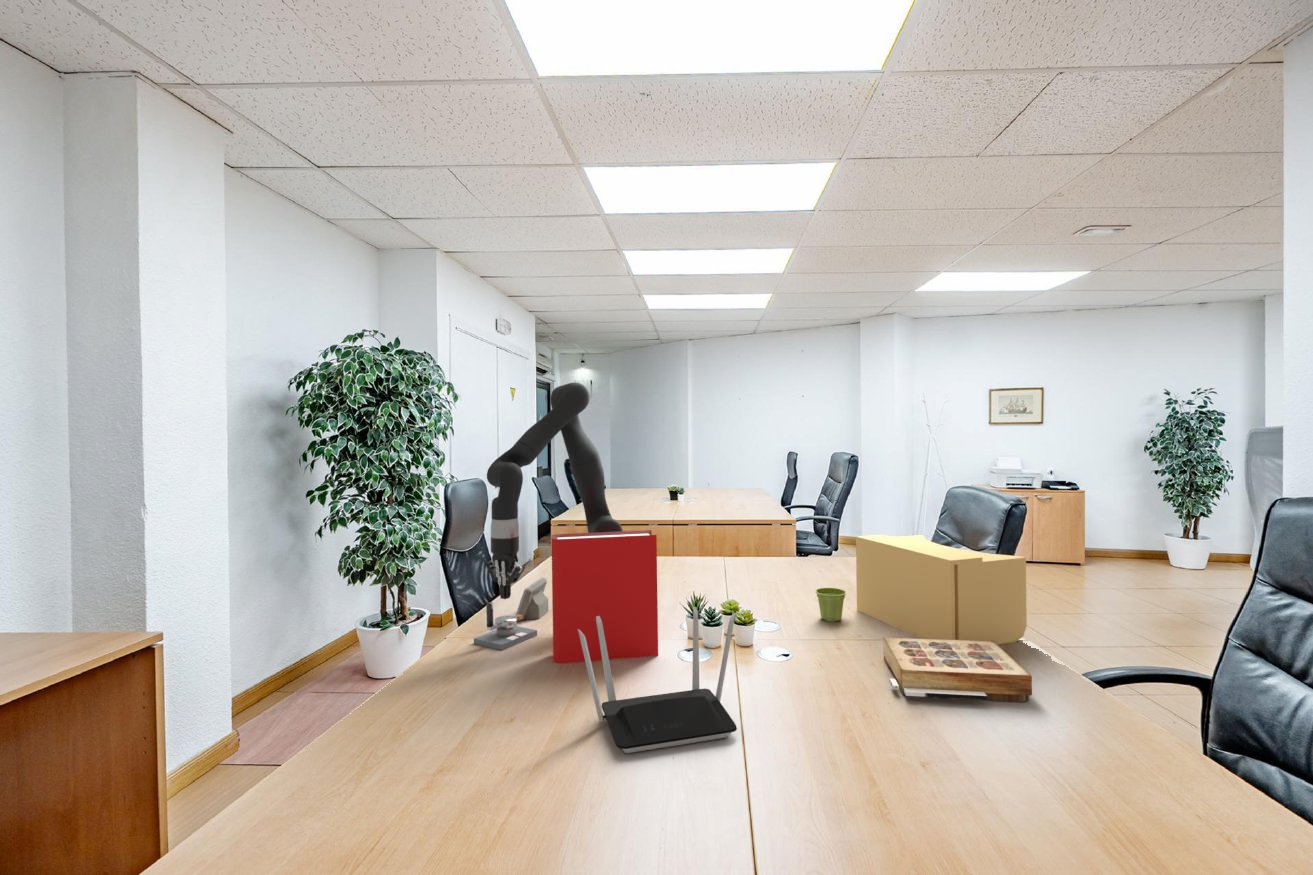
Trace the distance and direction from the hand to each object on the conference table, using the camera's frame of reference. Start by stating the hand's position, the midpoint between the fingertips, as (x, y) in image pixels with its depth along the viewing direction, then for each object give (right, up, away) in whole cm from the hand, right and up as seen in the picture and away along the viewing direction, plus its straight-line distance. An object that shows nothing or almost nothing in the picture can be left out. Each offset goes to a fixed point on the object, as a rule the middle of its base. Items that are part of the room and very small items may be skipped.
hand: (505, 598), depth 164 cm
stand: (-2, -14, +9) cm, 17 cm away
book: (+28, -14, -4) cm, 31 cm away
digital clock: (+1, -14, +32) cm, 35 cm away
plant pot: (+96, -13, +23) cm, 100 cm away
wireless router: (+43, -14, -42) cm, 61 cm away
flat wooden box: (+109, -13, -25) cm, 113 cm away
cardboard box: (+126, -13, +17) cm, 127 cm away
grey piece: (-2, -10, +8) cm, 13 cm away
